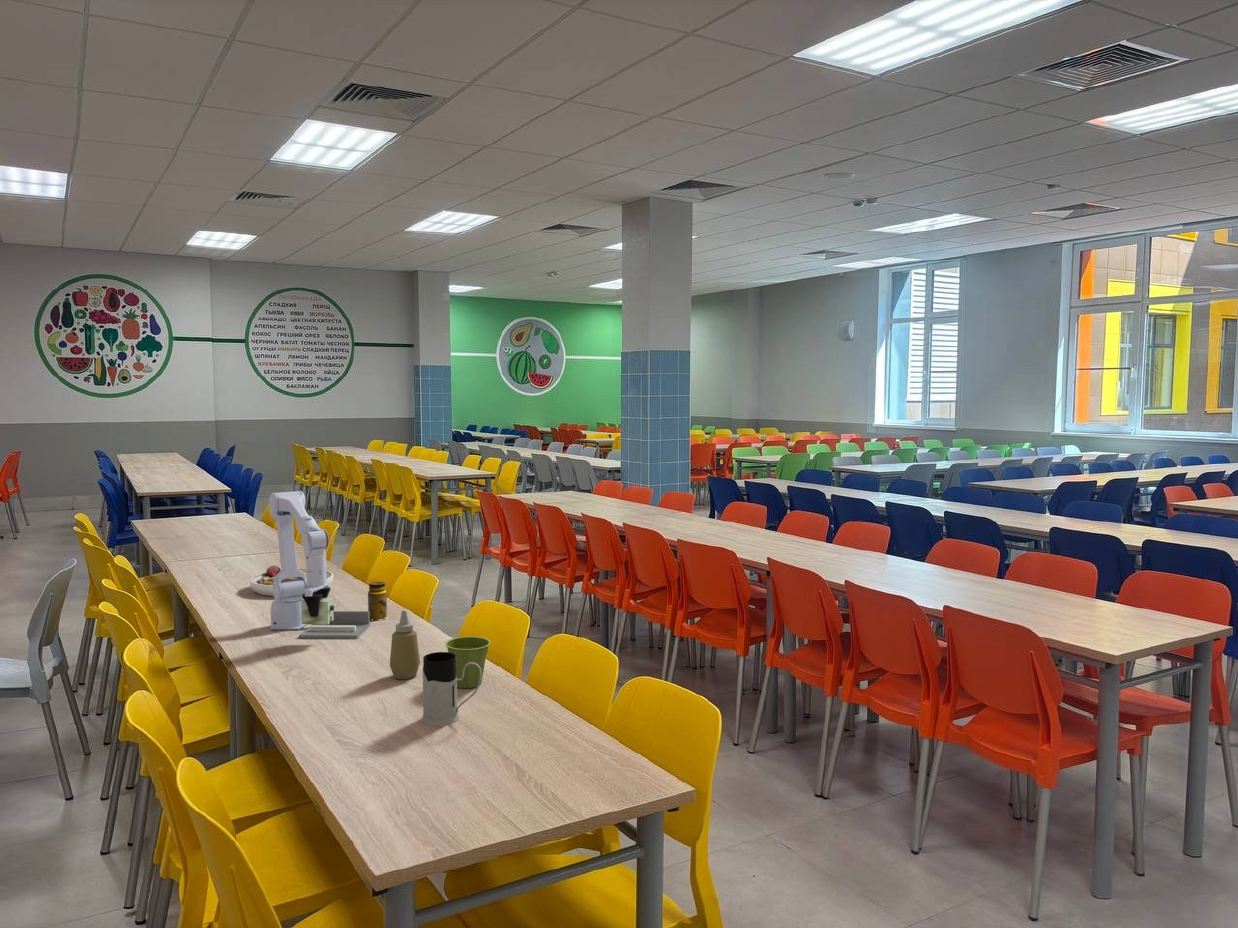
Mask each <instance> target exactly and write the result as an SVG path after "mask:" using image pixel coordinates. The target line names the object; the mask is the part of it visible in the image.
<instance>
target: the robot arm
mask: <svg viewBox="0 0 1238 928" xmlns="http://www.w3.org/2000/svg"><path fill="white" fill-rule="evenodd" d="M268 505H269V515H270V518H271V519H274V520H275V523H276V531H277V539H278V540H277V541H278V551H279V559H280V570H281V571H280V572H279V573H278V574H277V575H276V576H275V577H274V578H273V595H274V596H273V598H274V600H273V601H272V602H271V606H270V624H271V625H270V628H269V629H270V630H278V631H279V630H285V631H286V630H288V631H289V630H292V631H293V630H294V631H295V630H296V631H297V630H301V629H303V627H305V626H306V625H307V624H302V619H301V601H303V600H304V601H305V602H306V604H307V607H308V611H309V614H310V617H317V616H318V613H319V605H320V600H321V598H329V593H330V592H331V589H332V588H331V585H330V584H328V579H326V571H327V552H326V551H327V549H328V548H329V544H330V537H329V534H328V532H327V530H326V529H323V528H320V526H319V525H318V523H317V522H316V519H315V518H314V517H313V516H312V515H308V513H307V510H306V509H305V506H306V496H305V494H304V492H303V491H302V490H297V491H282V492H272V493H271V494H270V495H269V499H268ZM294 520H295V521H296V522H295V528H296V530H297V531H298V533H299V535H300V536H301V538H302V539H301V540H302V541H301V543H302V548H303V554H304V556H305V569H306V575H305V573H303V572H302V571H300V570H298V569H299V568H298V563H297V554H296V543H295V535H294V533H295V531H294V526H293V525H294V523H293V522H294ZM293 577H296V578H298V579H291V580H284V581H282V580H283V579H286V578H293Z"/></svg>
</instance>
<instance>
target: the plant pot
mask: <svg viewBox="0 0 1238 928" xmlns="http://www.w3.org/2000/svg"><path fill="white" fill-rule="evenodd" d="M491 643H492V642H491V640H490V639H488V638H486V637H481V636H473V635H472V636H470V635H469V636H459V637H454V638H451V639H448V640H446V641H445V642H444V645H445V648H447V652H449V653H453V654H455V655H456V676H457V679H461V678H462V671H463V668H464V666H465V665H466V664H467V663H470V662H474V663H477V664H478V665H479V666H480V668H481V672H482V675H481V682H480V685H481V684H482V682H483V677H484V671H485V669H484V668H485V664H486V659H487V654H488V652H489V651H488V650H489V647H490V645H491ZM479 679H480V671H479V668H478V667H477V666H476V665H474V664H469V665H468V666H466V668H465V670H464V678H463V679H462V680H460V681H457V688H460V689H463V688H468V689H473V688H477V686H478V683H479ZM480 685H479V686H480Z"/></svg>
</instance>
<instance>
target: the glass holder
mask: <svg viewBox="0 0 1238 928" xmlns="http://www.w3.org/2000/svg"><path fill="white" fill-rule="evenodd" d="M422 658H423V661H422V662H423V663H422V664H423V665H422V710H423V711H422V712H423V714H422V717H421V719H420V722H421V723H423V724H424V725H427V726H430V727H443V726H449V725H452V724H453V725H454V724H455V723H457V722H458V721H459V720H458V719H460V715H459V714H458V712H459V708H460V707H461V706H462V705H464V704H465V703H466V702H467V701H469V700H470V699H471V698H472V697H473V696H474V695H475V694H477V691H478V689H479V687H480V682H481V675H482V672H481V668H480V666H479V665H478V664H477V663H474V662H470V663H467V664H466V665H465V666H464V668H463V671H462V678H461V679H457V676H456V655H455V654H453V653H449V652H448V651H438V652H431V653H427V654H425V655H424V656H423V657H422ZM469 664H474V665H476V666H477V667H478V668H479V671H480V679H479V683H478V686H477V687H475V690H474V691H473V692H472V693H471V694H470V695H469V696H468V697H467V698H465V699H464V700H462V702H461V703H460V704H459V705H458V687H457V681H460V680H462V679H463V678H464V670H465V668H466V666H468V665H469ZM481 683H482V682H481Z"/></svg>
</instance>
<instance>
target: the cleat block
mask: <svg viewBox="0 0 1238 928" xmlns="http://www.w3.org/2000/svg"><path fill="white" fill-rule="evenodd" d="M333 611H335V605H334V597H327V598H321V600H320V605H319V613H318V616H317V617H310V614H309V611H308V607H307V604H306V602H305V601H304V599H303V601H301V619H302V624H306V625H312V624H315V625H328V624H329V621H333V620H334V616H333Z"/></svg>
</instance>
